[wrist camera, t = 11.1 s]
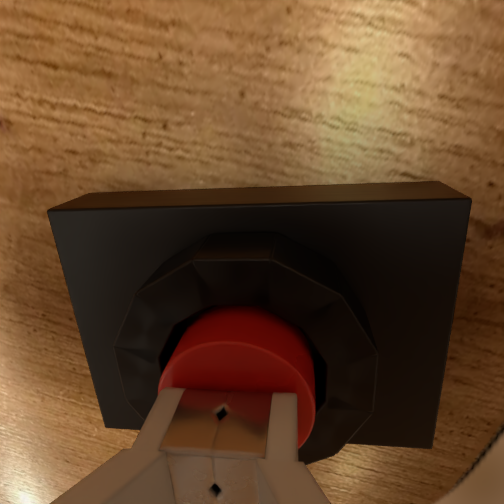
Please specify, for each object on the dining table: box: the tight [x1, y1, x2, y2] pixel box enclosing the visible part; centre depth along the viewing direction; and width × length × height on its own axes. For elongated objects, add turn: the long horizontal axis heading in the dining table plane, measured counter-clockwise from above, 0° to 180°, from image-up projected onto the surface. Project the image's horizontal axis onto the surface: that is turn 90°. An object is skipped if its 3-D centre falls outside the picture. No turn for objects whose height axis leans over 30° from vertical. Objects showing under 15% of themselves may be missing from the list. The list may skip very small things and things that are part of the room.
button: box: [158, 306, 316, 449], centre depth 9 cm, size 4×4×2 cm
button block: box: [47, 181, 472, 465], centre depth 11 cm, size 11×8×4 cm
